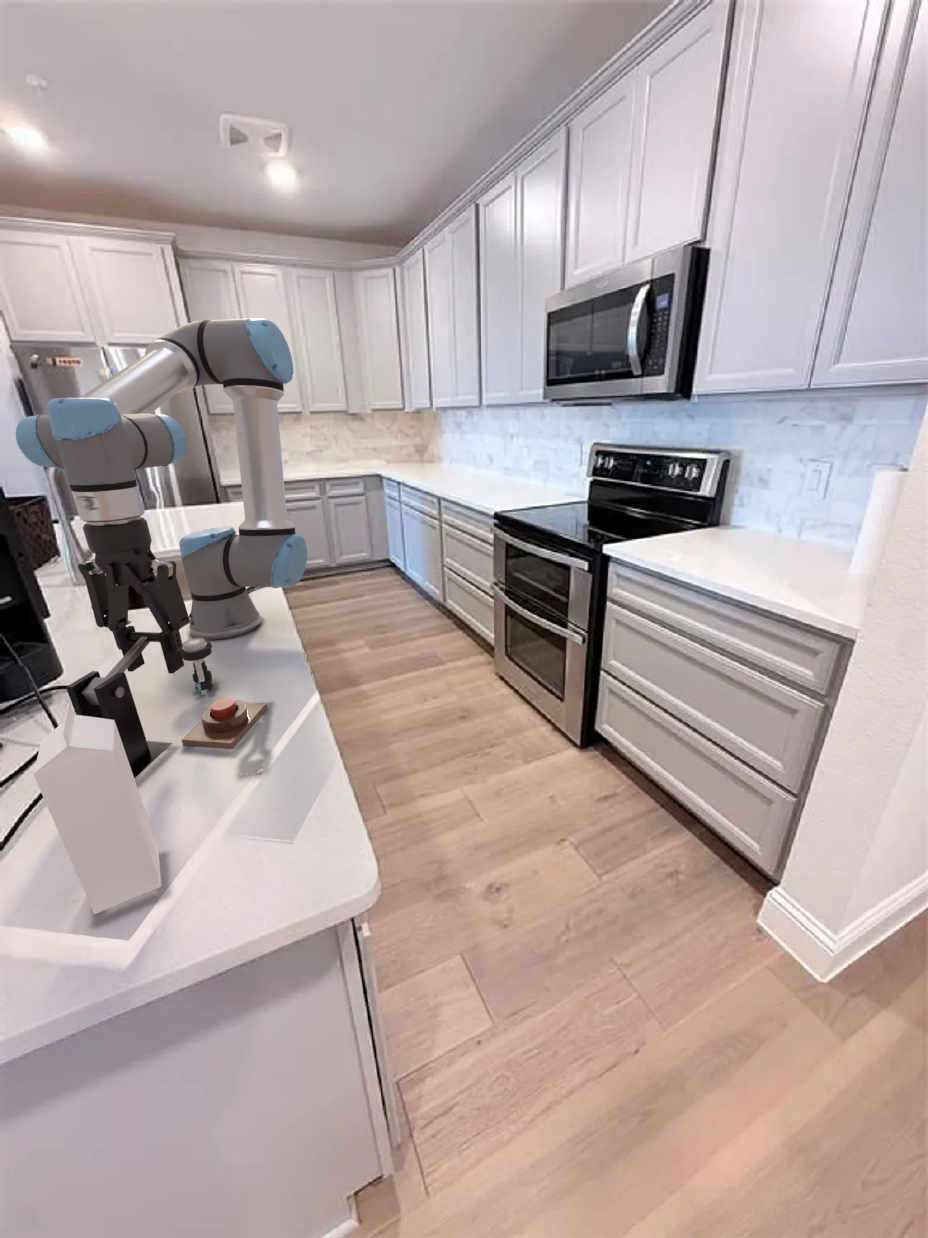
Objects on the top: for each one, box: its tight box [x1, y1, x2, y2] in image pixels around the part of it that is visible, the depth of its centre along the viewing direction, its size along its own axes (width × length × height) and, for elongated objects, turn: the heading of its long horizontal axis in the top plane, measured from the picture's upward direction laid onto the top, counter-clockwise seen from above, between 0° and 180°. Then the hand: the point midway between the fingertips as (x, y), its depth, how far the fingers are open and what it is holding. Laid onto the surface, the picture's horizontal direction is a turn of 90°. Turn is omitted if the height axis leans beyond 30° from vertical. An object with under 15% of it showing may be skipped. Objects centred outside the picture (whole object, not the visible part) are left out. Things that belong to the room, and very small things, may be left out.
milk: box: [32, 702, 162, 915], centre depth 51 cm, size 6×6×22 cm
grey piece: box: [180, 637, 215, 696], centre depth 91 cm, size 7×5×10 cm
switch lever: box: [81, 631, 160, 705], centre depth 72 cm, size 13×6×2 cm, turn 173°
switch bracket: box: [65, 670, 173, 779], centre depth 70 cm, size 10×8×15 cm
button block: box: [181, 699, 268, 750], centre depth 80 cm, size 11×8×4 cm
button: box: [209, 697, 237, 719], centre depth 80 cm, size 4×4×2 cm
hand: (156, 668), depth 79 cm, fingers closed on switch lever, 6 cm apart
